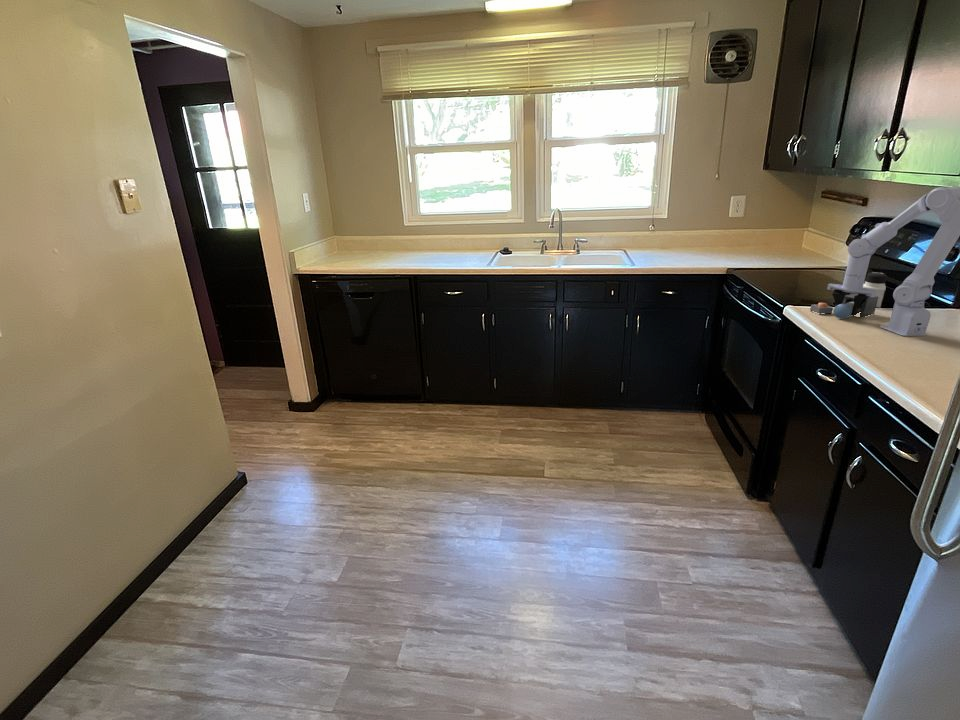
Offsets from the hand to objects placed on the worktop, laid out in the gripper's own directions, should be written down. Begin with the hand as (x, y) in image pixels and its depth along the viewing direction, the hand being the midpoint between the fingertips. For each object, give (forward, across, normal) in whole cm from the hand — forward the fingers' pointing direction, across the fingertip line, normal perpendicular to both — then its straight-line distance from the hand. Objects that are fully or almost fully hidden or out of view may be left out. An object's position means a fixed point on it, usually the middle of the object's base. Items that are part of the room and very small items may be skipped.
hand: (845, 313), depth 178 cm
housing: (+2, 0, -8) cm, 9 cm away
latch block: (+2, +8, 0) cm, 8 cm away
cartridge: (+1, 0, -4) cm, 4 cm away
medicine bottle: (+2, +4, -26) cm, 27 cm away
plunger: (+1, +8, 0) cm, 8 cm away
